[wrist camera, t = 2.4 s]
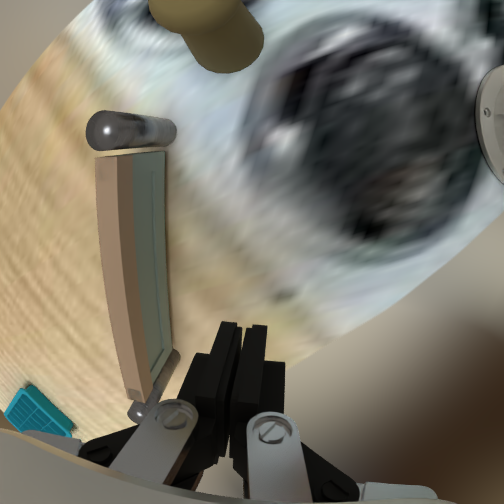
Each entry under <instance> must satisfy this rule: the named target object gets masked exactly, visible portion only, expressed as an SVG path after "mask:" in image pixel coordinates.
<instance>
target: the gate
mask: <svg viewBox="0 0 504 504" xmlns="http://www.w3.org/2000/svg"><path fill="white" fill-rule="evenodd" d="M164 169H165V151H154V152H141V153H132V154H123V155H114V156H105V157H97V158H95V178H96V203H97V219H98V232H99V243H100V253H101V262H102V270H103V277H104V285H105V292H106V298H107V304H108V310H109V316H110V322H111V327H112V332H113V337H114V342H115V347H116V352H117V356H118V361H119V365H120V369H121V373H122V377H123V381H124V385H125V389H126V393H127V397H128V399H131V400H134V401H138V402H142V403H146V401H147V399H148V397H149V395H150V393H151V391H152V390H153V383H154V382H155V380H156V378H157V376H158V374H159V373H160V371H161V369H162V367H163V365H164V364H165V362H166V360H167V358H168V356H169V355H170V353H171V351H172V339H171V328H170V316H169V303H168V288H167V271H166V248H165V208H164Z"/></svg>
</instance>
